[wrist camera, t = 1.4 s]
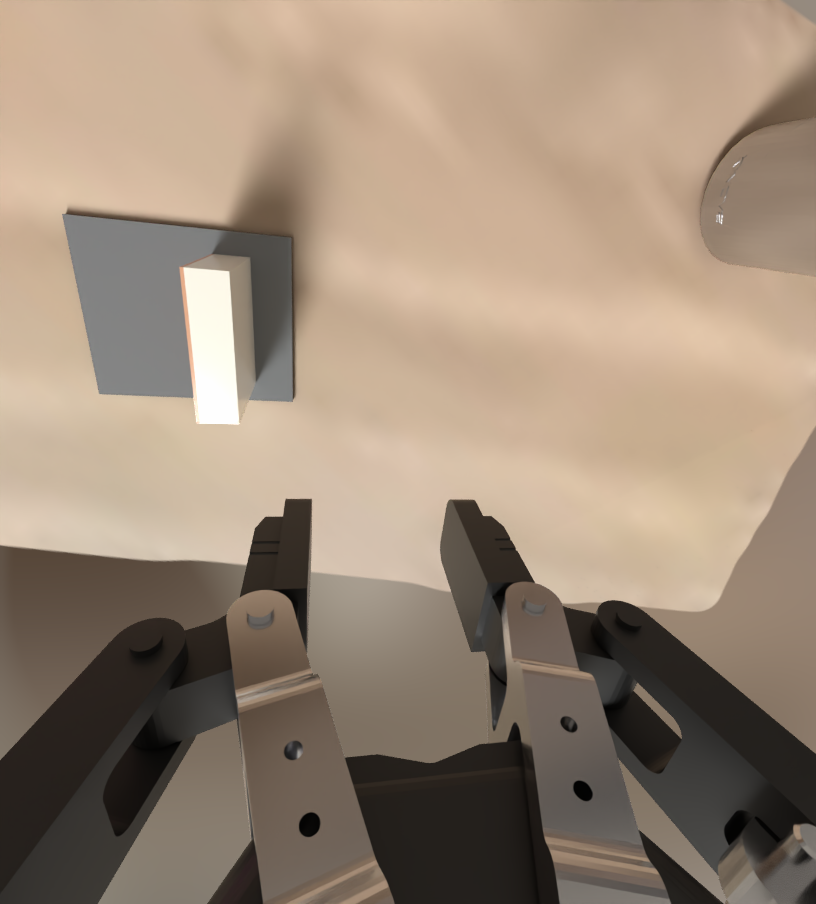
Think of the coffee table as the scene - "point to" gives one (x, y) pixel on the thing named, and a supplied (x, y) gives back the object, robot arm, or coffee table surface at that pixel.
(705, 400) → the coffee table surface
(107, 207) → the coffee table surface
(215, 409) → the tile
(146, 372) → the mat
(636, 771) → the robot arm
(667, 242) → the coffee table surface
